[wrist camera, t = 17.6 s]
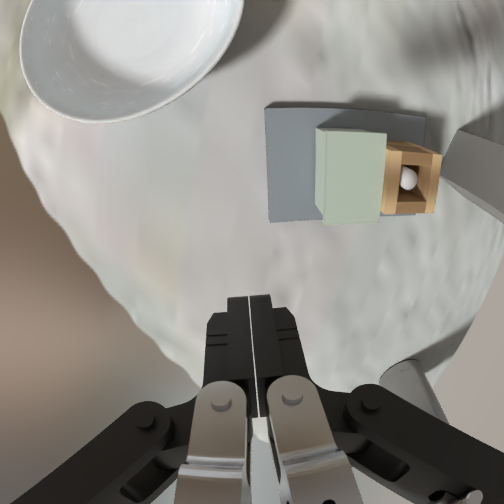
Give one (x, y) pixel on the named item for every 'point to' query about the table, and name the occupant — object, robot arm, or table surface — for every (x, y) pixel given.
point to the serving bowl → (121, 53)
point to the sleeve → (427, 178)
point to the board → (304, 152)
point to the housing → (349, 175)
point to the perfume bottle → (476, 171)
